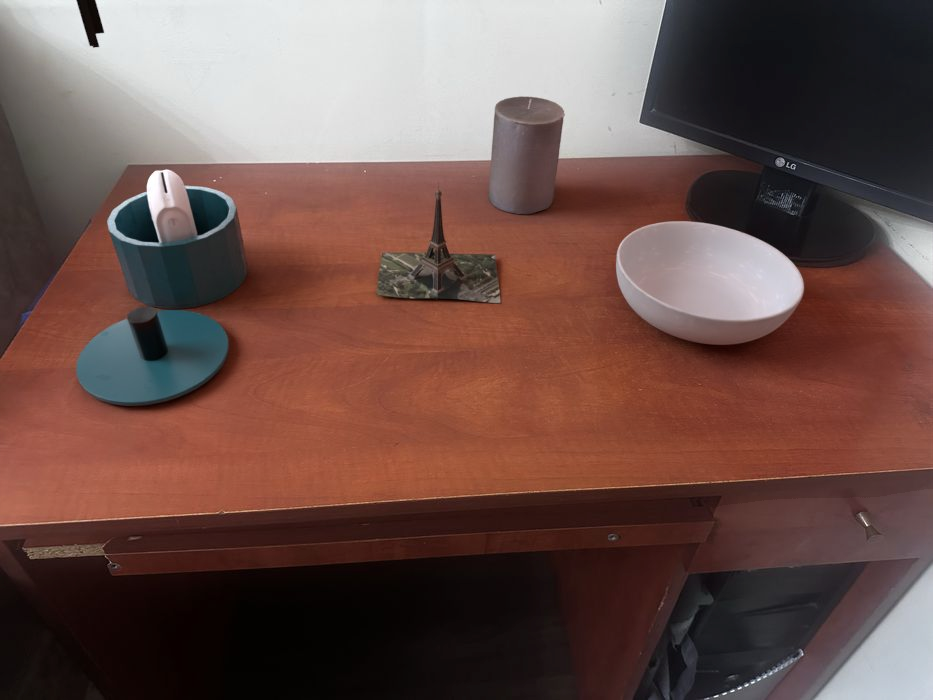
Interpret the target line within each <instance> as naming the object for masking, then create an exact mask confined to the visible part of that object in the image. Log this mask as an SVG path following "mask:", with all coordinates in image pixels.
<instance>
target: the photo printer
mask: <svg viewBox="0 0 933 700" xmlns="http://www.w3.org/2000/svg"><path fill="white" fill-rule="evenodd" d="M185 186H186V185H185V183H184V181H183V180H182V178H181V177H180V176H179V175H178V174H177V173H175V172H174V171H173V170H170V169H167V168H166V169H163V170H155V171H154V172H153V173H151V175H150V176H149V178H148V180H147V184H146V192H147V197H148V203H149V208H150V212H151V215H152V220H153V222H154V225H155V229H156V232H157V236H158V239H159V243H166V242H175V241H183V240H186V239H189V238H193V237H196V236H198V235H197V231H196V227H195V223H194V219H193V215H192V211H191V207H190V203H189V199H188V195H187V192H186V188H185Z"/></svg>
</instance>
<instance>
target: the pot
mask: <svg viewBox="0 0 933 700" xmlns="http://www.w3.org/2000/svg"><path fill="white" fill-rule="evenodd" d="M184 186H185V188H186V192H187V195H188V199H189V203H190V207H191V211H192V215H193V219H194V223H195V227H196V231H197V235H198V236H196V237H193V238H189V239H186V240H183V241H175V242H166V243H159V239H158V236H157V232H156V229H155V225H154V222H153V220H152V215H151V212H150V208H149V203H148V197H147V191H145V192H142V193H139V194H137V195H135V196H132V197H130V198H128V199H126V200H124V201H123V202H121V204H119V205H118V206H116V207H115V208H114V209H113V210H112V211H111V213H110V215H109V217H108V218H107V221H106V224H107V229H108V233H109V236H110V239H111V241H112V245H113V247H114V251H115V254H116V256H117V261H118V263H119V266H120V269H121V272H122V275H123V278H124V282H125V285H126V287H127V290H128V292H129V293H130V295H131V296H132V297H133V298H134V299H135V300H136V301H138V302H140V303H142V304H144V305H145V306H148V307H152V308H156V309H157V308H158V309H163V310H164V309H165V310H181V309H182V310H183V309H190V308H191V309H192V308H197V307H202V306H205V305H208V304H211V303H214V302H216V301H219V300H222V299H223V298H225V297H227V296H229V295H230V294H231V293H233V292H235V291H236V290H237V289H238V288H239V287H240V286H241V285H242V284H243V283H244V281H245V279H246V277H247V275H248V259H247V255H246V249H245V244H244V243H245V242H244V239H243V233H242V227H241V223H240V218H239V213H238V208H237V205H236V203H235V201H234V200H233V198H232V197H231V196H229V195H228V194H226V193H225V192H222V191H221V190H217V189H213V188H210V187H205V186H197V185H194V186H193V185H184Z"/></svg>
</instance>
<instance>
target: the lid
mask: <svg viewBox="0 0 933 700" xmlns="http://www.w3.org/2000/svg"><path fill="white" fill-rule="evenodd" d="M229 349H230V343H229V338H228V334H227V333H226V331H225V329H224V328H223V326H222V325H221V324H220V323H219V322H217V321H216V320H215V319H214V318H211V317H210V316H207V315H205V314H203V313H199V312H195V311H190V310H183V309H182V310H181V309H165V310H164V309H163V310H157V309H156V308H155V307H152V306H147V305H145V306H138V307H136V308H134V309H132V310H130V311H129V312H128V313H127V315H126V318H125V319H122V320H120V321H117V322H116V323H114V324H111V325H110V326H108V327H106V328H105V329H104V330H101V331H100V332H99V333H98V334H97V335H95V336H94V337H93V338H92V339H90V340H89V341H88V342H87V344H85V346H84V347H83V349H82V350H81V352H80V353H79V355H78V358H77V360H76V365H75V366H76V367H75V372H76V377H77V381H78V383H79V385H80V386H81V387H82V389H83V390H84V391H85V392H86V393H88V395H90V396H91V397H93V398H94V399H96V400H99V401H102V402H104V403H107V404H112V405H117V406H125V407H129V406H131V407H132V406H133V407H138V406H149V405H155V404H160V403H164V402H169V401H171V400H174V399H177V398H180V397H182V396H185V395H187V394H189V393H191V392H193V391H195V390H197V389H199V388H200V387H202V386H203V385H204V384H206V383H207V382H208V381H210V380H211V379H212V378H213V377H214V376H215V375H217V374H218V372H219V371H220V370H221V368H222V367H223V366H224V364H225V363H226V360H227V358H228V355H229Z"/></svg>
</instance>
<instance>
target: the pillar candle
mask: <svg viewBox="0 0 933 700" xmlns="http://www.w3.org/2000/svg"><path fill="white" fill-rule="evenodd" d="M565 115H566V114H565V110H564V109H563V107H562V106H561V105H560V104H558V103H557V102H555V101H552V100H549V99H546V98H542V97H535V96H513V97H507V98H504V99H501V100H500V101H498V102H497V103H496V104H495V106H494V114H493V126H492V127H493V128H492V140H491V141H492V142H491V153H490V154H491V155H490V156H491V158H490V168H489V182H488V183H489V185H488V201H489V202H490V204H491V205H493V206H494V207H495V208H497V209H499V210H501V211H504V212H507V213H509V214H516V215H531V214H536V213H538V212H541V211H545V210H547V209H549V208H550V207H552V204H553V202H554V196H555V186H556V178H557V173H558V166H559V159H560V158H559V157H560V147H561V141H562V133H563V126H564V118H565Z"/></svg>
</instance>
